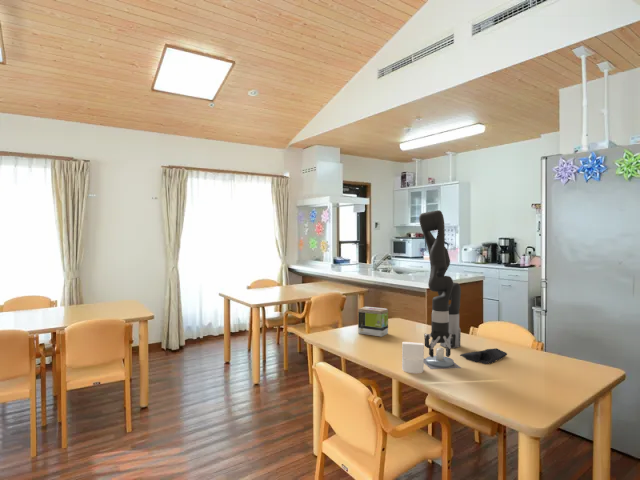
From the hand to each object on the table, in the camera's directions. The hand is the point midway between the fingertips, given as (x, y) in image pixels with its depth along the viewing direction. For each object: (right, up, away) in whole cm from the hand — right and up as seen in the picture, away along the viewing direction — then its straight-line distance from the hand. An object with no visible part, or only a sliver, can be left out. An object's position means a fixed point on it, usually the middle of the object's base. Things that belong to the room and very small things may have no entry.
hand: (439, 356), depth 184 cm
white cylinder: (-14, -4, -8) cm, 17 cm away
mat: (0, -4, 0) cm, 4 cm away
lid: (0, -3, 0) cm, 3 cm away
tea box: (-23, -2, +54) cm, 59 cm away
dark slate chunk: (+24, -4, +10) cm, 27 cm away
